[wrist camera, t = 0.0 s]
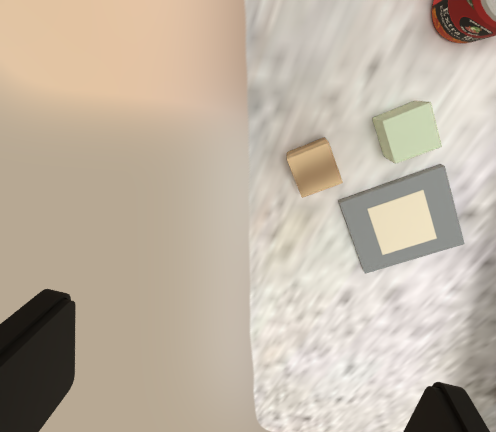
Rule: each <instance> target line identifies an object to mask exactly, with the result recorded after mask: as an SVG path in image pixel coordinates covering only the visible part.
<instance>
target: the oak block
mask: <svg viewBox="0 0 496 432" xmlns="http://www.w3.org/2000/svg"><path fill="white" fill-rule="evenodd" d="M287 161H288V163H289V166H290V168H291V171H292V174H293V176H294V179H295V181H296V184H297V186H298V189H299V191H300V194H301V197H302V198H303V197H306V196H308V195H311V194H314V193H317V192H319V191H322V190H325V189H327V188H330V187H333V186H336V185H338V184H341V183H343V182H342V179H341V176H340V173H339V170H338V167H337V165H336V162H335V159H334V156H333V153H332V150H331V147H330V145H329V142H328V141H327V140H326V139H325V137H324V138H321V139H319V140H316V141H314V142H311V143H309V144H307V145H304V146H302V147H299V148H297V149H294V150H292V151H289V152H287Z"/></svg>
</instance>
